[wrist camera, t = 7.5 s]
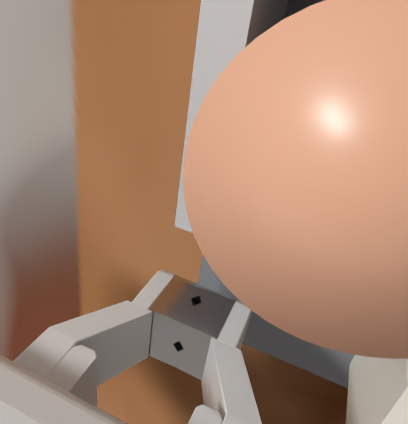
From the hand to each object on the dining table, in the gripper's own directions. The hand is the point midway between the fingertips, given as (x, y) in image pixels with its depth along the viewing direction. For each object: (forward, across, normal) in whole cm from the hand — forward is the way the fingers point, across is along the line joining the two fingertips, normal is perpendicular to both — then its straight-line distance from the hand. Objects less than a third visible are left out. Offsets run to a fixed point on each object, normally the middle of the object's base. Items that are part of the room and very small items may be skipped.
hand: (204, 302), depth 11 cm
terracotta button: (0, -2, -6) cm, 7 cm away
